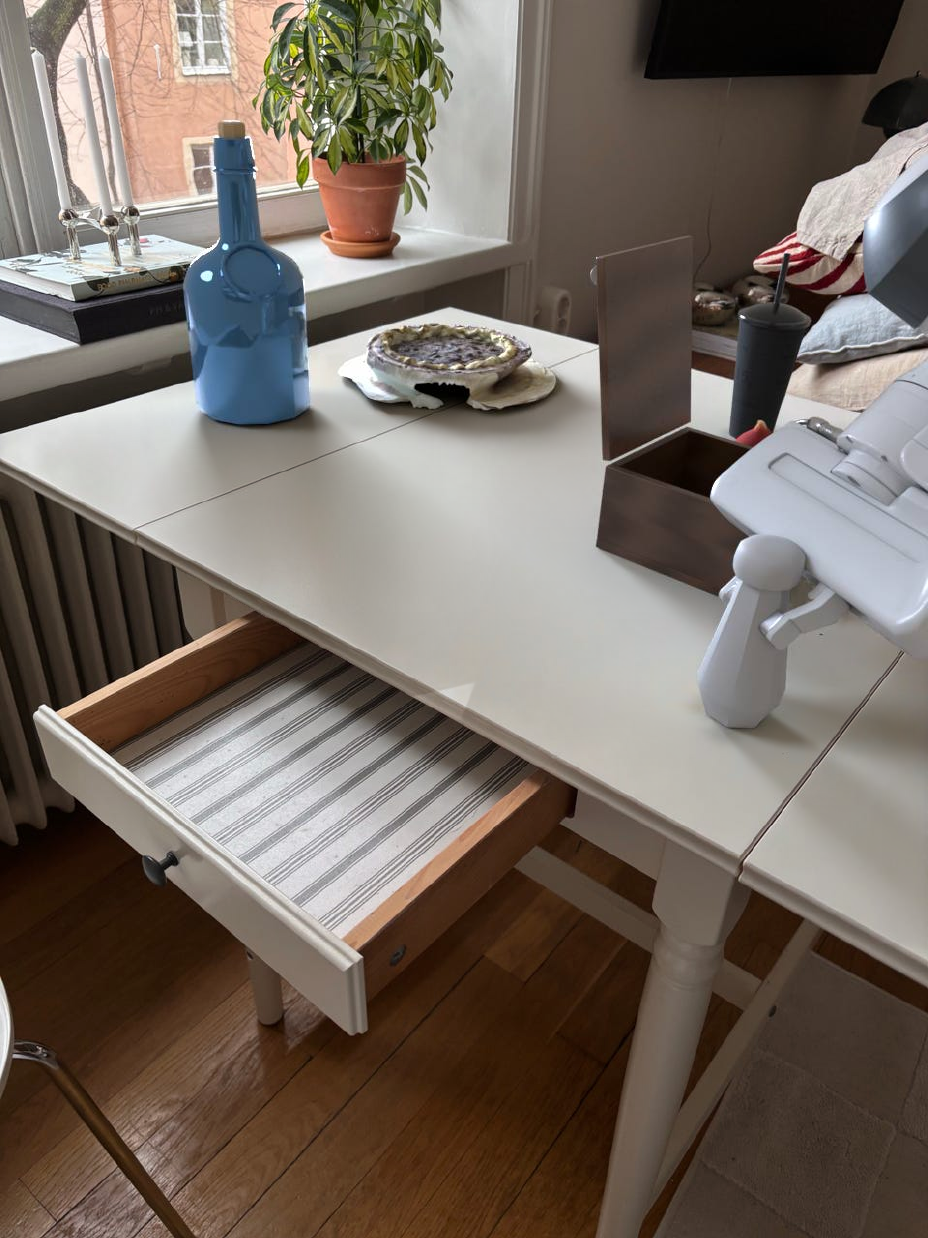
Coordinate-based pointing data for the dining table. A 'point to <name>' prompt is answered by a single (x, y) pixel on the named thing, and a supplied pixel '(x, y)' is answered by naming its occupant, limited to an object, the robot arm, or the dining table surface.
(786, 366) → the drinking cup
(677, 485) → the chest
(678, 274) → the chest lid
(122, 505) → the dining table surface
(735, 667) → the salt shaker
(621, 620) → the dining table surface
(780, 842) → the dining table surface
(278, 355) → the wine bottle
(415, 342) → the pie
